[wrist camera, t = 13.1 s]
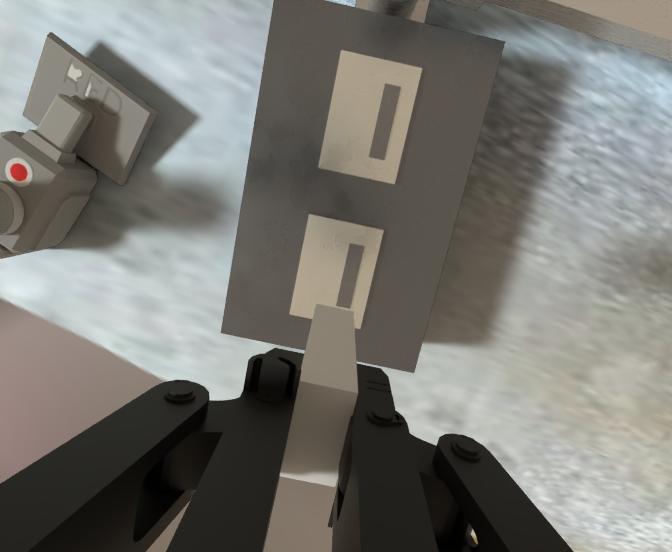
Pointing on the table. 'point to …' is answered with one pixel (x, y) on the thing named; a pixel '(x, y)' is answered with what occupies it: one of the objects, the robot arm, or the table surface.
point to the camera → (65, 147)
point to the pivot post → (397, 8)
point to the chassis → (355, 175)
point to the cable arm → (603, 19)
